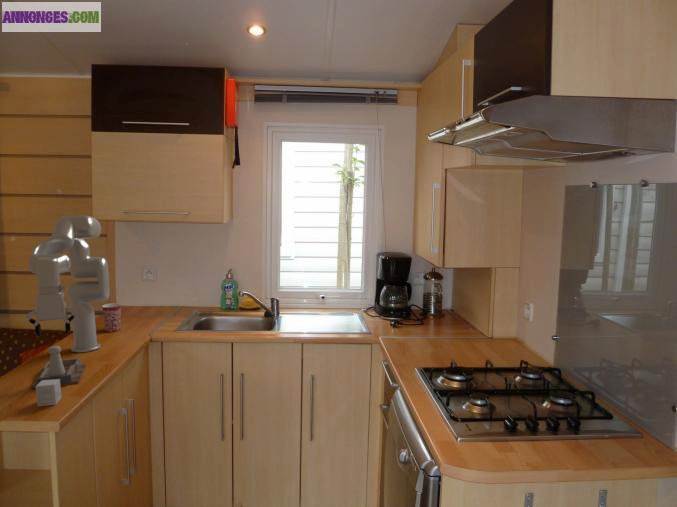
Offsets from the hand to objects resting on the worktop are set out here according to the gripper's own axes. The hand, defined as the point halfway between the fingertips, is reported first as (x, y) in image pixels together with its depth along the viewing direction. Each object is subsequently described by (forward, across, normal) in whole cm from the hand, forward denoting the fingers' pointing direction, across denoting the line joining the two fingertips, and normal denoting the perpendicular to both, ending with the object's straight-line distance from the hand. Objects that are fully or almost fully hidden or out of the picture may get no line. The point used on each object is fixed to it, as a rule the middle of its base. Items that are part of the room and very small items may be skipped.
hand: (53, 334), depth 207 cm
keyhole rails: (+19, 0, -6) cm, 20 cm away
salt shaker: (+18, 0, 0) cm, 18 cm away
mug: (+20, -15, -75) cm, 79 cm away
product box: (+19, -1, +22) cm, 29 cm away
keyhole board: (+19, 0, -6) cm, 20 cm away
